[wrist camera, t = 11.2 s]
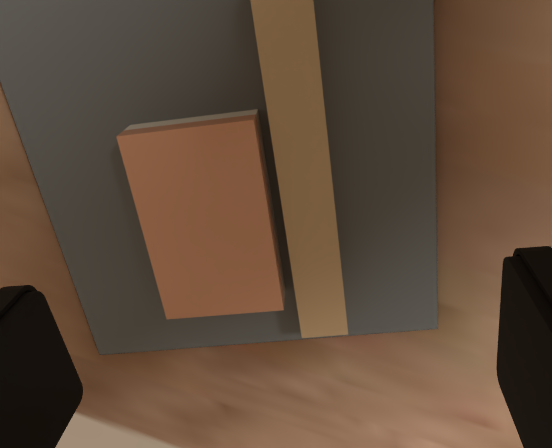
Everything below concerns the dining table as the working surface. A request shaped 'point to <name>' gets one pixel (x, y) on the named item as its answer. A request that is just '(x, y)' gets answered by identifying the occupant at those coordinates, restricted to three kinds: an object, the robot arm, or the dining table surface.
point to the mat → (277, 146)
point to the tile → (206, 213)
